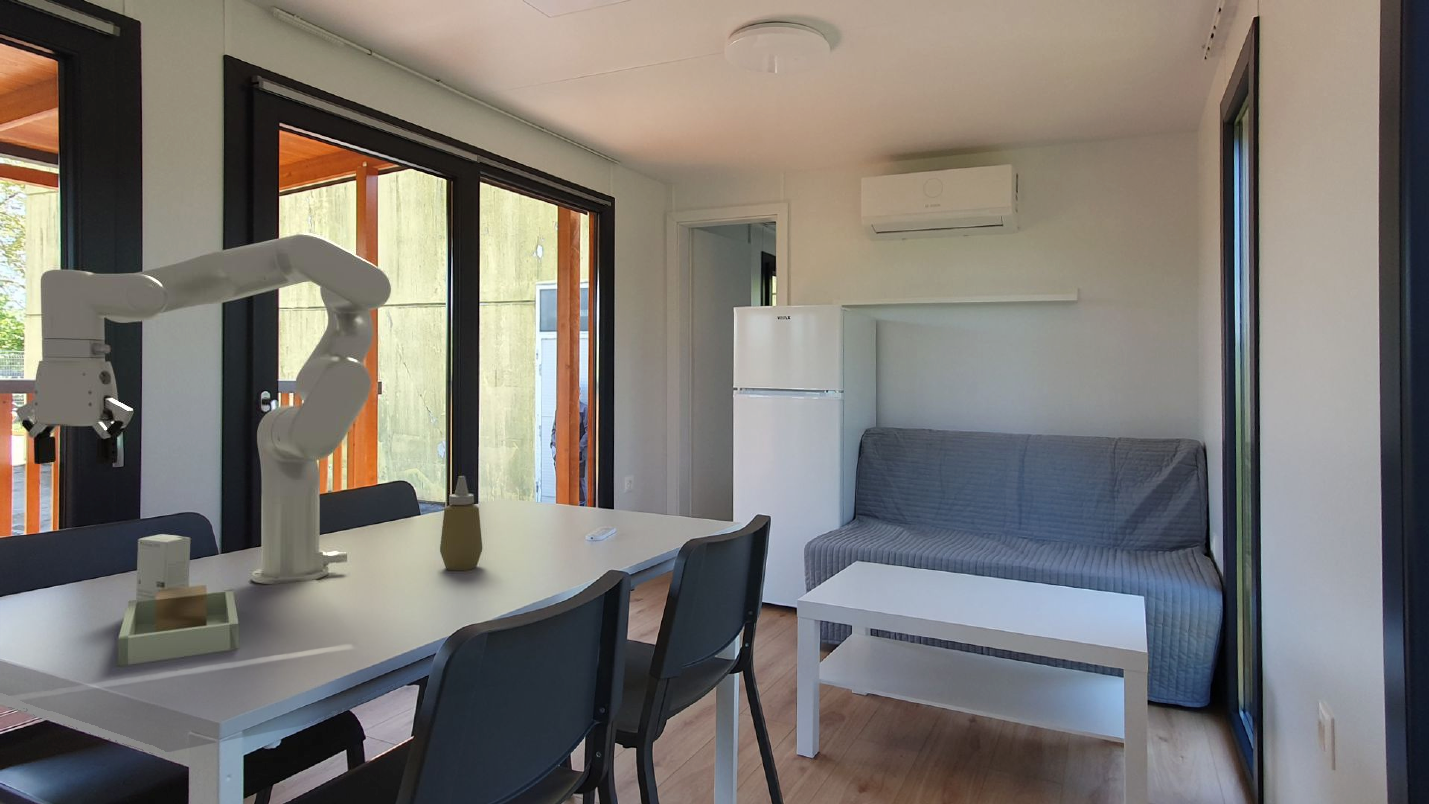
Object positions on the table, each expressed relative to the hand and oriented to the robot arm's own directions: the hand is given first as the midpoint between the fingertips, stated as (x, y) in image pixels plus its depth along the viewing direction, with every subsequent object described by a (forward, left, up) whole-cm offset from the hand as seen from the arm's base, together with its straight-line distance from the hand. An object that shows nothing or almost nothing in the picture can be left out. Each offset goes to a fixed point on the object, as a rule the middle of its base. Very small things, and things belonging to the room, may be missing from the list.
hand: (76, 463), depth 123 cm
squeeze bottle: (-59, -2, -24) cm, 64 cm away
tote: (-14, +22, -23) cm, 35 cm away
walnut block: (-14, +17, -23) cm, 32 cm away
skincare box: (-11, +7, -24) cm, 27 cm away
